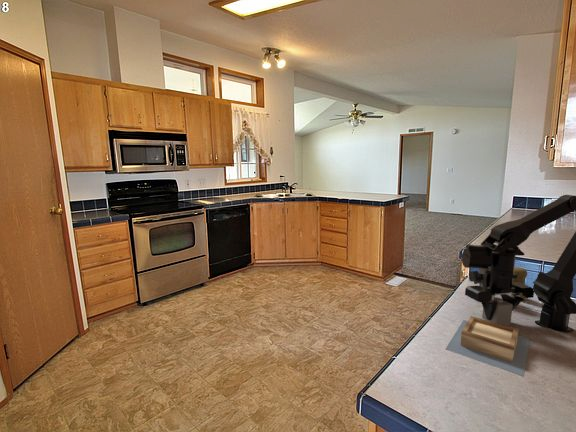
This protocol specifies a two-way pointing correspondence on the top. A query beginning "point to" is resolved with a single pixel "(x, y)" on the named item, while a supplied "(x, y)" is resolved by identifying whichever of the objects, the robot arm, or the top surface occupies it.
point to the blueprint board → (514, 366)
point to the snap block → (501, 312)
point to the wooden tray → (490, 338)
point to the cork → (520, 277)
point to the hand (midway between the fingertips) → (496, 318)
